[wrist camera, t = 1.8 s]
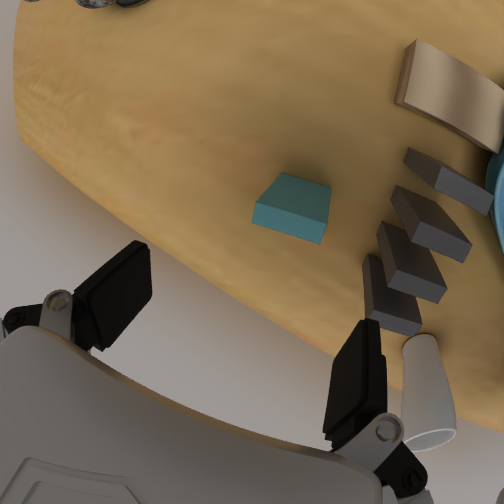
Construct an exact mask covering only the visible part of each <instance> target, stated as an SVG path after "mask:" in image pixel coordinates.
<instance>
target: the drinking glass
mask: <svg viewBox="0 0 504 504" xmlns="http://www.w3.org/2000/svg"><path fill="white" fill-rule="evenodd" d="M402 358H403V386H402V404H401V418H400V420H401V421H402V423H403V426H404V436H403V439H402V441H403V442H404V443H405V445H406V446H407V447H408V448H409V449H410V451H411V452H419V451H425V450H430V449H433V448H436V447H439V446H441V445H443V444H445V443H447V442H449V441H450V440H451V439H453V438H454V436H455V435H456V433H457V429H456V413H455V406H454V401H453V396H452V392H451V389H450V385H449V381H448V378H447V375H446V371H445V368H444V365H443V361H442V358H441V355H440V352H439V348H438V344H437V341H436V339H435V338H434V337H433V336H432V335H429V334H420V335H416V336H414V337H412V338H410V339H409V340H408V341H407V342H406V343H405V344H404V346H403V349H402Z"/></svg>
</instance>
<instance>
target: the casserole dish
mask: <svg viewBox="0 0 504 504" xmlns="http://www.w3.org/2000/svg"><path fill="white" fill-rule="evenodd" d="M485 189H486V191H487V192H489V193H490V194H492V195H493V196H494V199H493V201H492V204H491V206H490V208H489V212H490V215H491V218H492V221H493V224H494V227H495V230H496V233H497V236H498V239H499V242H500V246H501V249H502V252H503V255H504V139H503V140H502V144H501V147H500V151H499V154H496V153H493V155H492V156H491V159H490V161H489V163H488V167H487V171H486V180H485Z"/></svg>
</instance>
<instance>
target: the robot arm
mask: <svg viewBox="0 0 504 504" xmlns="http://www.w3.org/2000/svg"><path fill="white" fill-rule="evenodd" d="M151 297H152V280H151V263H150V250H149V249H148V246H147V244H145V243H142V242H140V241H137V240H134V241H133V242H131V243H130V244H129V245H128V246H127V247H125V248H124V249H122V250H121V251H120V252H119V253H117V254H116V255H115V256H114V257H113V258H112V259H110V260H109V261H108V262H106V263H105V264H104V265H103V266H102V267H101V268H99V269H98V270H97V271H96V272H95V273H93V274H92V275H91V276H90V277H89V278H88V279H87V280H85V281H84V282H83V283H82V284H81V285H80V286H78V287H77V288H76V289H75V290H74V294H73V295H71V293H70V292H68V291H66V290H55V291H53V292H51V293H50V294H48V295H47V296H46V298H45V299H44V302H43V304H36V305H28V306H21V307H15V308H13V309H11V310H9V311H8V312H7V313H6V315H5V317H4V320H2V318H0V504H434V502H433V499H432V497H431V494H430V491H429V490H426V489H425V486H426V483H427V479H428V475H427V471H426V469H425V468H424V466H423V465H422V464H421V463H420V461H419V460H418V459H417V458H416V457H415V455H414V454H413V453H412V452H411V451H410V449H409V448H408V447H407V446H406V445H405V443H404V442H403V441H402V439H403V436H404V426H403V423H402V421H401V420H400V419H399V418H398V417H397V416H396V415H394V414H391V413H387V367H386V357H385V356H384V355H382V352H381V337H380V325H379V321H376V320H373V319H370V318H365V319H364V320H360V321H359V322H358V324H357V325H356V327H355V328H354V330H353V331H352V333H351V335H350V336H349V338H348V339H347V341H346V342H345V344H344V345H343V347H342V348H341V350H340V351H339V353H338V354H337V356H336V357H335V359H334V361H333V365H332V372H331V380H330V387H329V394H328V401H327V407H326V413H325V419H324V425H323V433H326V435H325V440H329V441H332V446H331V447H332V449H331V450H330V451H323V450H319V449H315V448H311V447H307V446H303V445H299V444H294V443H291V442H287V441H283V440H279V439H276V438H272V437H269V436H265V435H262V434H259V433H255V432H252V431H249V430H246V429H243V428H240V427H237V426H234V425H231V424H228V423H226V422H223V421H221V420H217V419H215V418H213V417H210V416H207V415H205V414H203V413H200V412H198V411H195V410H193V409H191V408H188V407H186V406H184V405H182V404H179V403H177V402H175V401H173V400H171V399H169V398H167V397H165V396H162V395H160V394H158V393H156V392H154V391H152V390H151V389H148V388H147V387H145V386H143V385H141V384H139V383H137V382H135V381H134V380H132V379H130V378H128V377H127V376H125V375H123V374H121V373H120V372H118V371H116V370H114V369H113V368H111V367H110V366H108V365H106V364H105V363H103V362H101V361H100V360H98V359H97V358H95V357H93V356H92V355H91V348H92V347H93V346H94V347H95V348H97V349H98V350H100V351H102V352H103V350H104V349H105V348H109V347H110V346H111V345H112V344H113V343H114V342H115V340H116V339H117V338H118V337H119V335H120V334H121V333H122V332H123V330H125V328H126V327H127V326H128V325H129V324H130V322H131V321H132V320H133V319H134V318H135V316H136V315H137V314H138V313H139V312H140V311H141V310H142V308H143V307H144V306H145V305H146V304H147V303H148V302H149V300H150V299H151ZM496 504H504V488H503V489H502V490H501V492H500V494H499V496H498V498H497V501H496Z"/></svg>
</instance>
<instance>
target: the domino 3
mask: <svg viewBox="0 0 504 504" xmlns="http://www.w3.org/2000/svg"><path fill="white" fill-rule="evenodd" d="M376 236H377V240H378V244H379V248H380V253H381V257H382V262H383V266H384V271H385V276H386V282H387V287H390V288H393V289H396V290H398V291H401V292H404V293H407V294H410V295H413V296H416V297H419V298H422V299H425V300H428V301H431V302H434V303H437V304H438V303H439V301H440V300H441V298H442V296H443V295H444V293H445V292H446V290H447V289H448V288H447V286H446V284H445V281H444V279H443V277H442V275H441V273H440V271H439V269H438V266H437V264H436V262H435V260H434V258H433V256H432V254H431V252H430V251H429V249H428V248H426V247H423V246H421V245H418V244H416V243H413V242H411V240H410V238H409V236H408V234H407V232H406V230H403V229H401V228H398V227H396V226H393V225H391V224H388V223H385V222H383V221H382V222H381V225H380V227H379V230H378V232H377V234H376Z"/></svg>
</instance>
